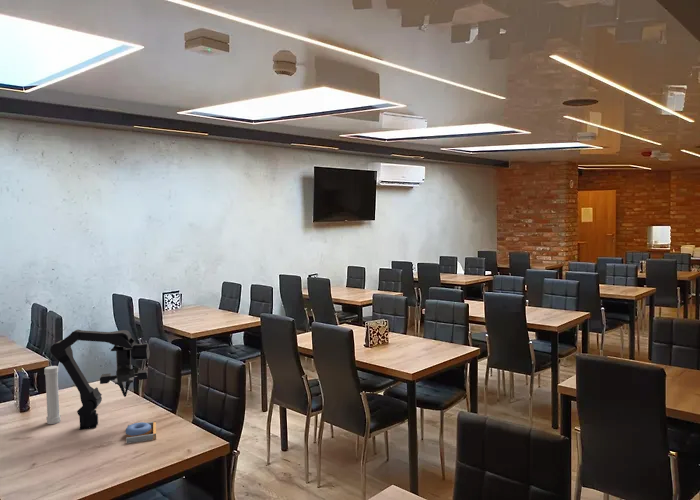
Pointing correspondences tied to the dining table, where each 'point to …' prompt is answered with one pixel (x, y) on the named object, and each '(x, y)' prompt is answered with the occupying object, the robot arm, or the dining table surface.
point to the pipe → (52, 394)
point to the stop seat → (143, 437)
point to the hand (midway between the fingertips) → (125, 396)
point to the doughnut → (138, 429)
